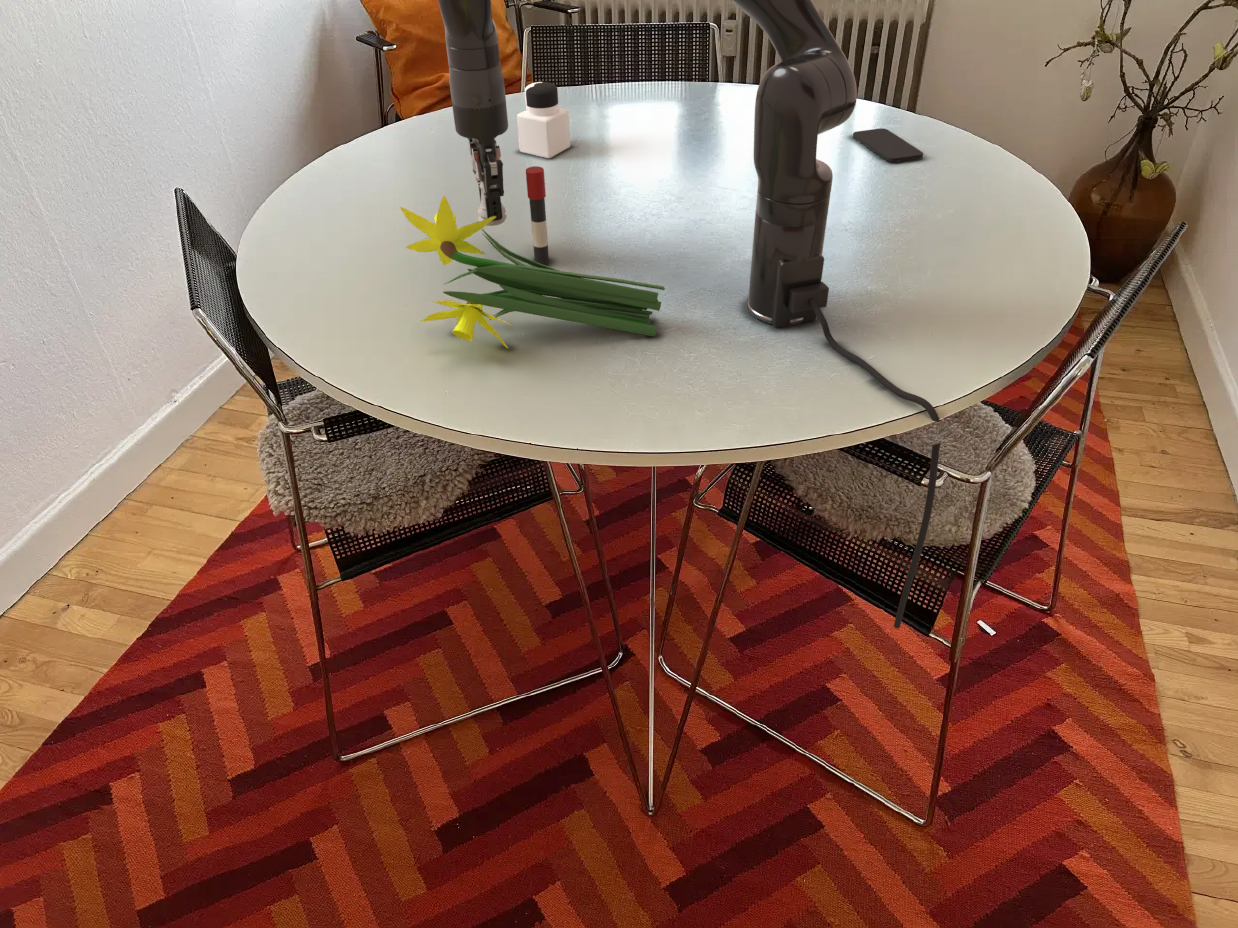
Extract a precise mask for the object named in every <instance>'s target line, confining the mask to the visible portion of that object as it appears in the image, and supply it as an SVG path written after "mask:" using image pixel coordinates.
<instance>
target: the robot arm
mask: <svg viewBox="0 0 1238 928" xmlns="http://www.w3.org/2000/svg"><path fill="white" fill-rule="evenodd" d="M730 1H731V2H732V3H733V4H734V5H736V6H737V7H738V8H739V9H740V10H741V11H742V12H743V13H745V14H746V15H747V16H748V17H749V18H750V19H752V21H753V22H755V24H757V25H758V27H759V28H760V29H761V30H762V31H763V32H764V34H765V35H766V36H767V38H768V40H769V41H770V43H771V45H772V47H773V48H774V50H775V52H776V54H777V56H778V58H779V60H780V62H778V63H776V64H774V65H772V66H771V67H769V68H768V69H767V70H766V71H765V73H764V74H763V75H762V77H761V80H760V81H759V84H758V87H757V91H756V95H755V102H754V119H753V122H754V125H753V165H754V169H755V172H756V175H757V191H756V192H757V193H756V204H755V215H754V224H753V226H754V227H753V238H752V239H753V240H752V251H751V261H750V262H751V263H750V265H751V266H750V273H749V276H750V277H749V289H748V298H747V304H746V307H747V311H748V312H749V314H750V315H751V316H752V317H754V318H755V319H757V320H759V321H761V322H764V323H767V324H770V325H772V326H773V327H774V328H775V329H776V328H777V329H778V328H783V327H789V326H793V325H799V324H804V323H808V322H814V321H816V320H817V319H818V321H819V323H820V326H821V329H822V331H823V335H824V338H825V340H826V342H827V343H828V345H830V347H831V348H832V349H833V350H834V351H835V352H837V353H838V354H839V355H841V356H842V357H844V358H846V359H847V360H848V361H851V362H853V363H855V364H856V365H857V366H859V367H861V368H862V369H863V370H864V371H865V372H867V373H868V374H869V375H870V376H871V377H873V378H874V379H875V380H876V381H877V382H878V383H880V385H882V386H883V387H885V388H886V389H887V390H888V391H890V392H892V393H893V394H894V395H895V396H897V397H900V398H901V399H903V400H906V401H908V402H912V403H915V404H917V405H919V406H921V407H922V408H923V409H924V410H925V411H926V412H927V413H928V415H929V417H930V419H931V421H932V422H936V423H939V422H940V417H939V414H938V412H937V410H936V409H935V407H934V406H933V404H931V402H929V401H928V400H927V399H925V398H923V397H921V396H920V395H917V394H913V393H911V392H908V391H905V390H903V389H901V388H900V387H898V386H896V385H895V384H894V383H892V382H891V381H890V380H888V379H887V378H886V377H885V376H883V375H882V374H881V373H880V372H879V371H878V370H876V369H875V368H874V367H873V366H872V365H871V364H870V363H868V362H867V361H866V360H864V359H862V358H861V357H860V356H858V355H856V354H854V353H852V352H851V351H849V350H848V349H847V350H846V349H845V348H843V347H842V346H841V345H840V344H839V343H837V341H836V340H835V339H834V337H833V336H832V334H831V330H830V326H829V322H828V320H827V319H826V317H825V315H824V313H823V312H822V310H821V309H825V308H827V306H828V298H829V292H830V288H829V286H828V285H826V283H824V281H822V279H823V273H824V265H825V257H824V255H823V251H824V244H825V238H826V229H827V221H828V215H829V207H830V200H831V192H832V188H833V187H832V186H833V178H834V177H833V171H832V168H831V167H830V166H829V165H828V164H827V163H825V162H824V161H822V160H820V159H817V151H818V150H817V148H818V138H819V137H818V136H819V135H821V134H824V133H826V132H828V131H830V130H832V129H835V128H837V127H839V126H841V125H842V124H844V123H845V122H846V121H848V120H849V119H850V117H851V116H852V114H853V113H854V110H855V108H856V105H857V99H858V88H857V87H858V86H857V83H856V81H857V80H856V77H855V74H854V71H853V69H852V66H851V65H850V63H849V61H848V58H847V56H846V55H845V53H844V52H843V50H842V48H841V46H840V45H839V44H838V41H837V40H836V39H835V37H834V35H833V34H832V32H831V31H830V28H828V25H827V24H826V22H825V21H824V19H823V17H822V16H821V14H820V13H819V11H818V9H817V7H816V5H815V3H814V2H813V0H730ZM437 2H438V6H439V10H440V11H439V12H440V14H441V18H442V22H443V26H444V36H445V37H444V38H445V46H446V53H447V62H448V78H449V79H448V83H449V90H450V97H451V98H450V99H451V106H452V114H453V122H454V127H455V128H454V130H455V132H456V133H457V134H458V136H460V137H463V138H465V139H467V140H468V151H469V153H470V160H471V167H472V173H473V175H475V178H474V179H475V181H476V183H478V184H477V185H478V192H479V193H478V194H479V202H480V203H481V188H480V187H479V185H480V181H481V182H482V185H483V191H484V192H483V195H484V196H485V204H486V212H487V218H490V217H493V216H496V218H495V219H493V220H492V221H496V220H501V219H502V207H501V203H502V198H501V197H504V195H505V190H504V169H503V166H504V163H503V161H502V159H501V157H502V153H501V147H500V144H497V140H496V138H497V137H499V136H501V135H503V134H505V133H506V132H507V131H508V129H509V120H508V109H507V98H506V89H505V88H506V87H505V79H504V73H503V69H502V64H501V57H500V45H499V35H498V30H497V26H496V22H495V21H494V19H493V12H492V10H493V9H492V0H437ZM482 172H484V175H483V174H482ZM477 176H478V178H477ZM491 185H496V188H490V186H491ZM940 448H941V443H940V442H939V443H935V444H932V446H931V454H930V464H929V465H930V466H929V477H928V485H927V493H926V499H925V503H924V511H923V514H922V519H921V525H920V529H919V533H918V538H917V540H916V544H915V548H914V551H913V555H912V557H911V558H912V559H911V561H910V565H909V569H908V571H907V575H906V578H905V582H904V585H903V588H902V591H901V596H900V599H899V603H898V607H897V610H896V614H895V619H894V624H893V627H894V628H895V629H900V628H901V624H902V621H903V618H904V617H903V616H904V612H905V609H906V605H907V602H908V598H909V595H910V591H911V588H912V584H913V581H914V578H915V575H916V572H917V568H918V565H919V561H920V558H921V556H922V552H923V548H924V544H925V541H926V538H927V533H928V529H929V525H930V521H931V516H932V510H933V504H934V500H935V494H936V487H937V478H938V469H939V468H938V467H939V457H940Z"/></svg>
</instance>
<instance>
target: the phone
mask: <svg viewBox="0 0 1238 928" xmlns="http://www.w3.org/2000/svg"><path fill="white" fill-rule="evenodd" d="M852 138H853V139H855V140H856V141H858V142H859V143H861V144H862V145H863V146H865V147H866V148H867V149H869V150H870V151H872V152H873V153H875V154H876V155H878V156H879V157H880V158H882V159H883V160H885V161H886V162H890V163H896V162H897V163H898V162H905V161H912V160H918V159H922V158H923V156H924V152H923V151H922V150H920V149H918V148H917V147H915V146H914V145H912V144H911V143H909V142H908V141H906V140H905V139H903V138H901V137H900V136H898V135H897V134H895V133H894V132H892V131H890V130H889V129H887V128H874V129H873V128H872V129H866V130H859V131H854V132H853V133H852Z"/></svg>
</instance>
